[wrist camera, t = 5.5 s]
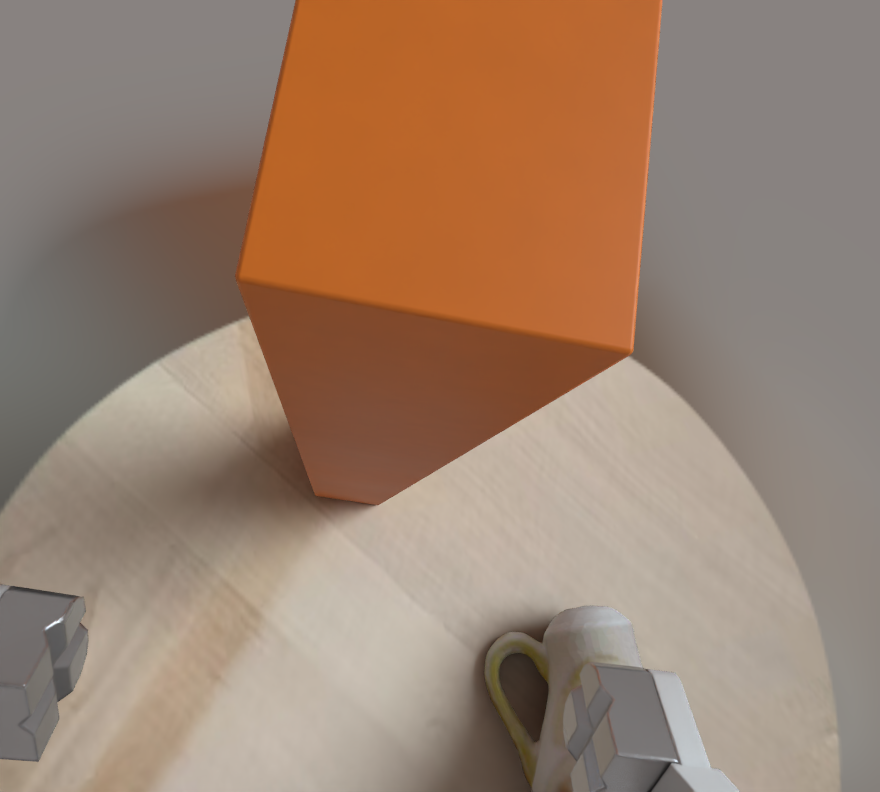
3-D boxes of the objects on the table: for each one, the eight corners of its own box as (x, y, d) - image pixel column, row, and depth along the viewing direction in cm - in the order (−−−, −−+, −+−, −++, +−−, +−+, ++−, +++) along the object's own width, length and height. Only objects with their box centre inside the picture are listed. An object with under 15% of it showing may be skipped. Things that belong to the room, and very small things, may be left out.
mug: (630, 575, 34) (797, 717, 25) (586, 741, 36) (724, 926, 27) (495, 580, 31) (629, 743, 22) (456, 760, 33) (563, 975, 24)
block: (314, 495, 32) (232, 279, 5) (329, 411, 33) (331, -171, 6) (378, 505, 32) (634, 354, 5) (392, 422, 33) (671, -78, 6)
